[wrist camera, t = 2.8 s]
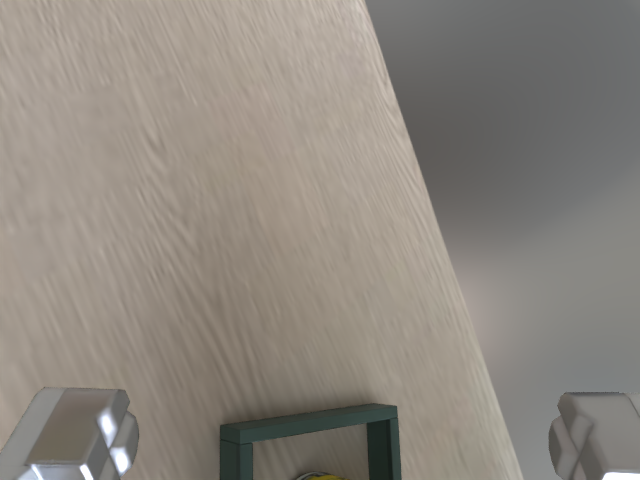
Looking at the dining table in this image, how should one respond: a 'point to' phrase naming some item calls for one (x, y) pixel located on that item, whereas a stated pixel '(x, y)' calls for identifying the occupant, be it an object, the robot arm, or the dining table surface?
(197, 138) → the dining table surface
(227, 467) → the square frame
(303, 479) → the supplement bottle
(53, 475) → the robot arm
